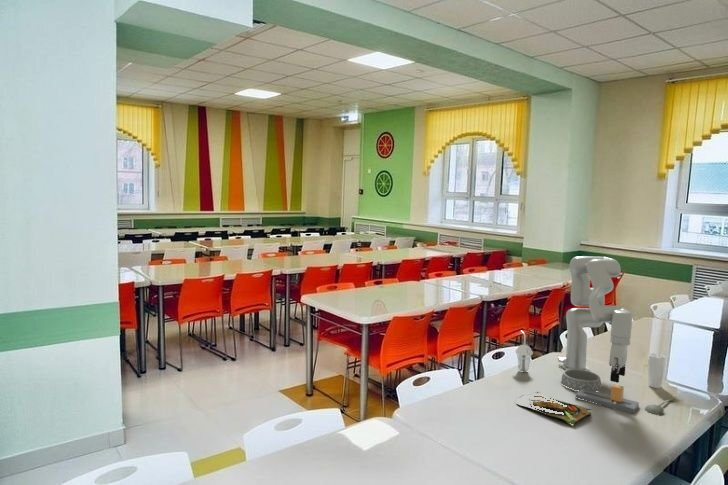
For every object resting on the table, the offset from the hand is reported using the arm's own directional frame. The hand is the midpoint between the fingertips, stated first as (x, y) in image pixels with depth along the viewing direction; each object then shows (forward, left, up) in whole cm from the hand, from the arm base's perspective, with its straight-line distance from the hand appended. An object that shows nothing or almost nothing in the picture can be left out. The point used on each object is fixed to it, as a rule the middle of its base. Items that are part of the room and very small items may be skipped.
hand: (617, 378), depth 212 cm
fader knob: (0, 0, -9) cm, 9 cm away
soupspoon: (+15, +11, -12) cm, 22 cm away
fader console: (-4, 0, -12) cm, 12 cm away
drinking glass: (+8, +35, -12) cm, 38 cm away
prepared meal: (-19, -23, -12) cm, 32 cm away
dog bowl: (-18, +13, -12) cm, 26 cm away
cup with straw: (-46, +13, -12) cm, 49 cm away
